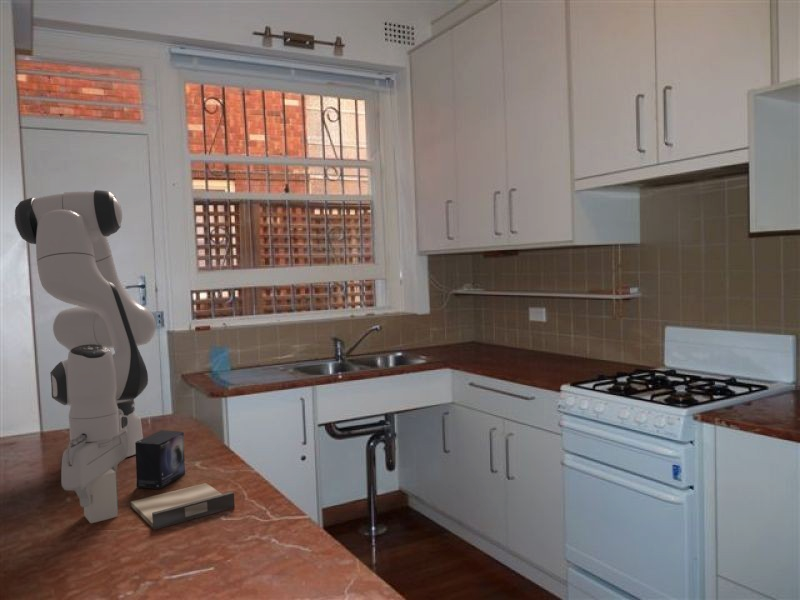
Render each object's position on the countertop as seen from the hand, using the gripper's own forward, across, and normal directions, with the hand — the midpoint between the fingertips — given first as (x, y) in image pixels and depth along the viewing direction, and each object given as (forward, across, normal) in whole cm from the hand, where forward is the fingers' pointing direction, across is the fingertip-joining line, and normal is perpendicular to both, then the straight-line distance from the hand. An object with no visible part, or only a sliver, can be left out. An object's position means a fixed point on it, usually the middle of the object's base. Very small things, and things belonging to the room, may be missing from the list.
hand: (98, 496), depth 127 cm
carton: (+4, 0, 0) cm, 4 cm away
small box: (+4, +20, -5) cm, 21 cm away
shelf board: (+4, +4, -15) cm, 16 cm away
